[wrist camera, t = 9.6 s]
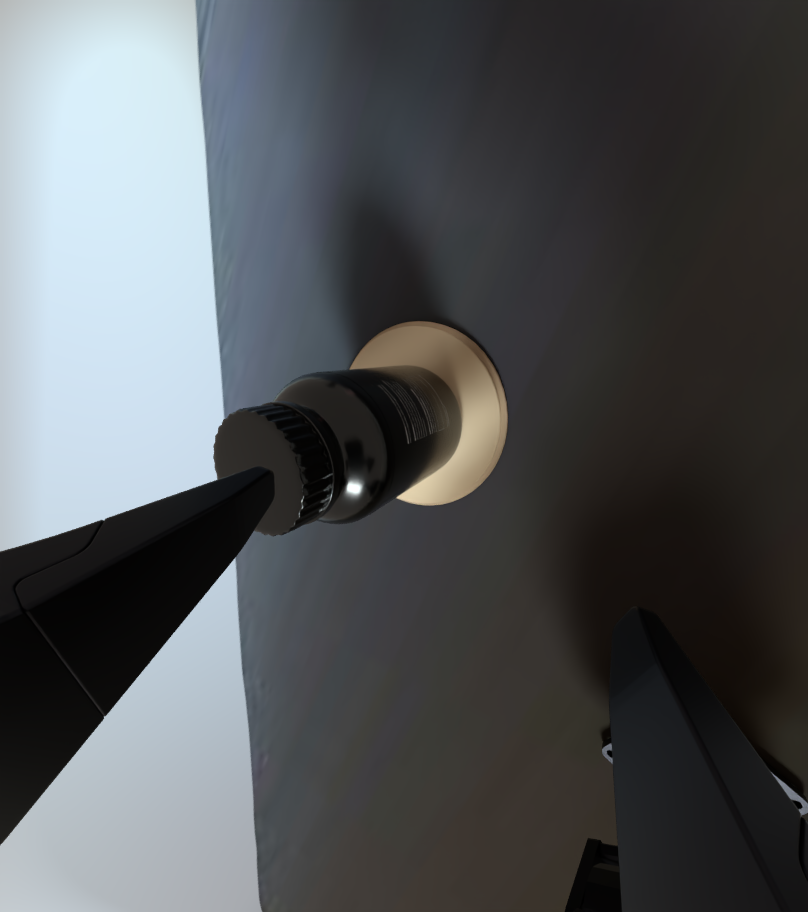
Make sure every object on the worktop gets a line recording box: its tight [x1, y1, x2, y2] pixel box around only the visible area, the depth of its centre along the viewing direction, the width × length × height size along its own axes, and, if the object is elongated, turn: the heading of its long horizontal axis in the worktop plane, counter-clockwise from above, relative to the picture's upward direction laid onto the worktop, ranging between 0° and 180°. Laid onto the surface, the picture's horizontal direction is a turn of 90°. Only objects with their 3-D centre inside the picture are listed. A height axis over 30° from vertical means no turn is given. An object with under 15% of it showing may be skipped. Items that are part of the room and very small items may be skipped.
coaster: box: [349, 321, 508, 505], centre depth 24 cm, size 12×12×1 cm
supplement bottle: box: [214, 365, 462, 536], centre depth 19 cm, size 7×7×12 cm
